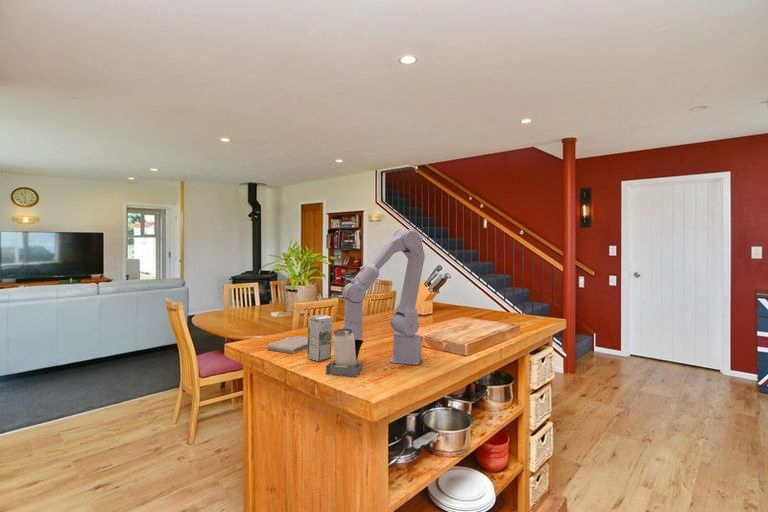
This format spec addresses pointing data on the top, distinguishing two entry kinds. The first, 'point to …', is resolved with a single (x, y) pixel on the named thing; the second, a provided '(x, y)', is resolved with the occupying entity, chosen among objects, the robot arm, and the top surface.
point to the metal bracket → (343, 369)
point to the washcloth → (289, 344)
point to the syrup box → (319, 337)
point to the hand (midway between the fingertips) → (352, 363)
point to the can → (344, 347)
